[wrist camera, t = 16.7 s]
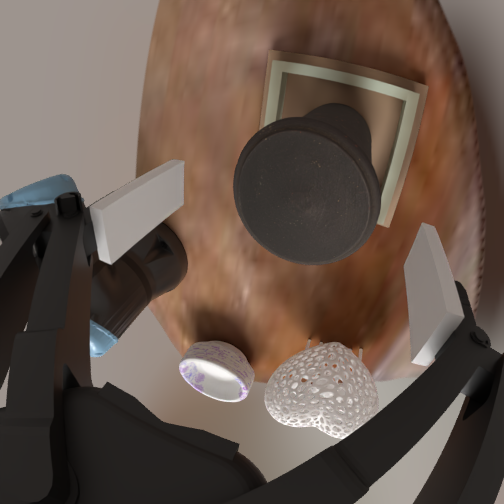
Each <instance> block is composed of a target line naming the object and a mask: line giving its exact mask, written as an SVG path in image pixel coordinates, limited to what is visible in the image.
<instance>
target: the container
mask: <svg viewBox="0 0 504 504" xmlns="http://www.w3.org/2000/svg"><path fill="white" fill-rule="evenodd" d="M371 143H372V139H371V134H370V130H369V127H368V124H367V123H366V121H365V119H364V118H363V117H362V115H361V114H360V113H358V112H357V111H356V110H355V109H353V108H352V107H350V106H347V105H344V104H340V103H329V104H324V105H321V106H319V107H317V108H315V109H313V110H312V111H310V112H309V113H308V114H306V115H305V116H303V117H288V118H284V119H280V120H277V121H275V122H272V123H270V124H268V125H267V126H265V127H263V128H262V129H261V130H259V131H258V132H257V133H256V134H255V135H254V136H253V137H252V138H251V139H250V140H249V141H248V143H247V144H246V146H245V147H244V149H243V150H242V152H241V154H240V157H239V160H238V164H237V165H236V168H235V173H234V181H233V190H234V199H235V204H236V208H237V211H238V214H239V216H240V218H241V220H242V222H243V224H244V226H245V227H246V229H247V230H248V232H249V233H250V235H251V236H252V237H253V238H254V239H255V240H256V241H257V242H258V243H259V244H260V245H261V246H262V247H264V248H265V249H266V250H268V251H269V252H271V253H272V254H274V255H276V256H278V257H280V258H282V259H285V260H287V261H290V262H294V263H298V264H305V265H322V264H329V263H333V262H336V261H339V260H342V259H344V258H346V257H348V256H350V255H351V254H353V253H354V252H356V251H357V250H358V249H359V248H360V247H361V246H363V245H364V243H365V242H366V241H367V240H368V238H369V237H370V235H371V234H372V232H373V230H374V228H375V226H376V224H377V221H378V218H379V215H380V210H381V189H380V184H379V180H378V177H377V174H376V171H375V169H374V167H373V165H372V149H371V148H372V146H371Z"/></svg>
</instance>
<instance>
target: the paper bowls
mask: <svg viewBox="0 0 504 504" xmlns="http://www.w3.org/2000/svg"><path fill="white" fill-rule="evenodd" d="M179 369H180V372H181V374H182V376H183V378H184V379H185V380H186V381H187V382H188V383H189V384H190V385H191V386H192V387H194V388H195V389H196V390H197V391H199V392H201V393H203V394H204V395H207V396H209V397H211V398H214V399H217V400H221V401H226V402H238V401H241V400H243V399H245V398H246V397H247V395H248V393H249V390H250V388H251V385H252V383H253V380H254V377H255V375H254V371H253V369H252V367H251V365H250V364H249V363H248V361H247V358H246V357H245V355H244V354H243V353H242V352H241V351H240V350H239V349H237V348H236V347H234V346H233V345H231V344H228V343H226V342H222V341H209V342H197V343H195V344H193V345H191V346H190V348H189V349H188V351H187V352H186V353H185V355H184V357H183V358H182V360H181V362H180V365H179Z"/></svg>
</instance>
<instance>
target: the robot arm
mask: <svg viewBox="0 0 504 504" xmlns="http://www.w3.org/2000/svg"><path fill="white" fill-rule="evenodd" d="M182 205H184V161H181V160H176V159H172V160H170V161H168V162H166V163H164V164H162V165H160V166H158V167H157V168H155V169H153V170H151V171H149V172H147V173H145V174H144V175H142V176H140V177H138V178H136V179H135V180H133V181H131V182H129V183H128V184H126V185H124V186H123V187H121V188H119V189H117V190H116V191H113V192H111V193H110V194H108V195H106V196H105V197H103V198H101V199H100V200H98V201H96V202H95V203H93V204H91V205H90V206H88V207H87V208H86V207H85V205H84V199H83V198H82V197H81V194H80V193H79V191H78V189H77V187H76V184H75V182H74V180H73V179H72V178H71V177H70V176H68V175H66V174H60V175H56V176H52V177H49V178H46V179H43V180H41V181H38V182H35V183H33V184H30V185H28V186H25V187H23V188H21V189H19V190H16V191H15V192H13V193H11V194H9V195H6V196H4V197H2V198H1V199H0V210H1V211H0V389H1V387H2V385H3V383H4V380H5V377H6V375H7V372H8V370H9V367H10V370H9V379H8V388H7V400H6V407H3V408H0V504H354V503H355V502H356V501H358V500H359V499H360V498H361V497H362V496H364V495H365V494H366V493H367V492H368V491H369V487H370V486H371V485H372V484H373V483H374V482H376V481H377V480H378V479H379V478H380V477H382V476H383V475H384V474H385V473H386V472H387V471H388V470H390V469H391V467H393V466H394V465H395V464H396V463H397V462H398V461H399V460H400V459H401V458H402V457H403V456H404V455H405V454H406V453H407V452H408V451H409V450H410V449H411V448H412V447H413V446H414V445H415V444H416V443H417V442H418V441H419V440H420V439H421V438H422V437H423V436H424V435H425V434H426V433H427V432H428V431H429V429H430V428H431V427H432V426H433V425H434V424H435V423H436V421H437V420H438V419H439V418H440V417H441V416H442V414H443V413H444V412H445V411H446V410H447V408H448V407H449V406H450V405H451V403H452V402H453V401H454V400H455V398H456V397H457V396H458V394H459V393H460V392H461V393H463V394H465V395H466V397H465V400H464V403H463V405H462V408H461V410H460V413H459V416H458V418H457V420H456V423H455V425H454V428H453V430H452V432H451V435H450V437H449V439H448V441H447V443H446V445H445V447H444V449H443V451H442V454H441V455H440V457H439V459H438V461H437V463H436V465H435V467H434V469H433V471H432V472H431V474H430V476H429V478H428V480H427V481H426V483H425V485H424V486H423V488H422V490H421V492H420V493H419V495H418V496H417V498H416V500H415V501H414V503H413V504H494V502H495V500H496V497H497V495H498V492H499V490H500V487H501V484H502V481H503V478H504V353H503V354H500V353H499V352H497V351H495V350H494V349H492V348H490V346H491V343H490V339H489V337H488V336H487V334H486V333H485V332H484V330H482V329H481V328H480V327H478V326H476V322H475V319H474V315H473V312H472V308H471V307H470V306H471V305H470V302H469V300H468V295H467V292H466V290H465V289H464V287H463V286H462V284H461V283H460V282H458V281H455V280H454V279H453V276H452V273H451V270H450V267H449V264H448V261H447V258H446V255H445V252H444V249H443V247H442V244H441V241H440V239H439V236H438V234H437V231H436V229H435V227H434V226H431V225H428V224H425V223H422V224H421V226H420V229H419V231H418V234H417V236H416V239H415V241H414V243H413V246H412V248H411V250H410V253H409V255H408V257H407V259H406V262H405V264H404V273H405V281H406V290H407V300H408V311H409V325H410V343H411V363H415V364H419V365H424V366H428V365H429V364H430V362H431V361H432V360H433V359H434V357H435V362H434V363H433V364H432V365H431V366H430V367H429V368H428V369H427V370H426V371H425V372H424V373H423V374H422V375H420V376H419V377H418V378H417V379H416V380H415V381H414V382H413V383H412V384H411V385H410V386H409V387H408V388H407V389H405V390H404V391H403V392H402V393H401V394H400V395H399V396H398V397H397V398H395V399H394V400H393V401H392V402H391V403H389V404H388V405H387V406H386V407H385V408H384V409H383V410H381V411H380V412H379V413H377V414H376V415H375V416H374V417H372V418H371V419H370V420H369V421H367V422H366V423H365V424H363V425H362V426H361V427H359V428H358V429H357V430H355V431H354V432H353V433H351V434H350V435H349V436H347V437H346V438H344V439H343V440H342V441H340V442H339V443H337V444H335V445H334V446H330V447H329V448H327V449H325V450H324V451H322V452H320V453H319V454H317V455H316V456H314V457H312V458H311V459H309V460H308V461H306V462H304V463H303V464H301V465H299V466H297V467H296V468H294V469H293V470H291V471H289V472H287V473H285V474H283V475H282V476H280V477H278V478H276V479H274V480H272V481H270V482H268V483H267V481H266V479H265V478H264V476H263V474H262V473H261V472H260V470H259V469H258V468H257V467H256V466H255V465H254V464H253V463H252V462H251V461H250V460H249V459H247V458H246V457H245V456H244V455H242V454H241V453H239V452H238V448H239V444H238V443H235V442H232V441H230V440H227V439H224V438H221V437H219V436H217V435H214V434H211V433H209V432H207V431H204V430H200V429H194V428H189V427H184V426H179V425H174V424H169V423H165V422H163V421H161V420H160V419H159V418H157V417H156V416H155V415H154V414H152V412H150V411H149V410H148V409H147V408H146V407H145V406H144V405H143V404H142V403H141V402H139V401H138V400H137V399H136V398H135V397H133V396H131V395H130V394H128V393H126V392H124V391H123V390H121V389H119V388H117V387H116V386H114V385H112V384H111V383H109V382H107V383H106V384H105V385H104V387H103V388H97V387H93V384H92V380H91V366H90V356H91V357H100V356H102V355H104V354H105V353H106V352H107V351H108V350H109V349H110V348H111V347H112V346H113V345H114V344H115V343H117V342H118V339H119V338H120V337H121V336H122V334H123V333H124V332H125V331H126V330H127V328H128V327H129V326H130V325H131V324H132V322H133V321H134V320H135V319H136V318H137V316H138V315H139V314H140V313H141V312H142V311H143V310H144V308H145V307H146V306H147V305H148V304H149V303H150V301H152V300H153V299H155V298H157V297H159V296H161V295H162V294H164V293H166V292H169V291H171V290H173V289H174V288H176V287H177V286H178V285H179V283H180V282H181V281H182V280H183V279H184V277H185V275H186V272H187V258H186V254H185V251H184V249H183V246H182V244H181V243H180V241H179V239H178V238H177V237H176V235H175V234H174V233H173V232H172V231H171V230H170V229H169V228H168V227H167V226H166V225H165V224H163V223H162V221H163V220H165V219H166V218H167V217H168V216H170V215H171V214H172V213H173V212H175V211H176V210H177V209H178V208H180V207H181V206H182ZM27 322H28V323H27ZM26 324H27V329H26V331H24V329H25V326H26Z"/></svg>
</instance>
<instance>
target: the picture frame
mask: <svg viewBox="0 0 504 504" xmlns="http://www.w3.org/2000/svg"><path fill="white" fill-rule="evenodd" d="M428 87H429V86H426V85H423V84H420V83H418V82H415V81H412V80H409V79H406V78H403V77H400V76H396V75H393V74H390V73H386V72H383V71H379V70H376V69H372V68H368V67H365V66H361V65H356V64H352V63H348V62H343V61H339V60H334V59H329V58H324V57H318V56H312V55H306V54H300V53H293V52H285V51H277V50H269V54H268V62H267V70H266V78H265V86H264V94H263V102H262V110H261V118H260V127H259V130H261V129H262V128H263V127H265V126H267V125H268V124H270V123H272V122H275V121H277V120H280V119H284V118H288V117H303V116H305V115H306V114H308V113H309V112H310V111H312V110H313V109H315V108H317V107H319V106H321V105H324V104H329V103H340V104H344V105H347V106H350V107H352V108H353V109H355V110H356V111H357V112H358V113H360V114H361V115H362V117H363V118H364V119H365V121H366V123H367V124H368V127H369V130H370V134H371V139H372V143H371V146H372V148H371V149H372V165H373V167H374V169H375V171H376V174H377V177H378V180H379V184H380V189H381V210H380V215H379V218H378V221H377V224H378V225H382V226H385V227H388V228H389V226H390V223H391V220H392V217H393V214H394V212H395V209H396V206H397V203H398V200H399V197H400V194H401V191H402V188H403V184H404V181H405V178H406V175H407V171H408V168H409V165H410V161H411V158H412V154H413V151H414V147H415V143H416V139H417V135H418V132H419V128H420V123H421V119H422V115H423V111H424V106H425V102H426V97H427V92H428Z"/></svg>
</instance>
